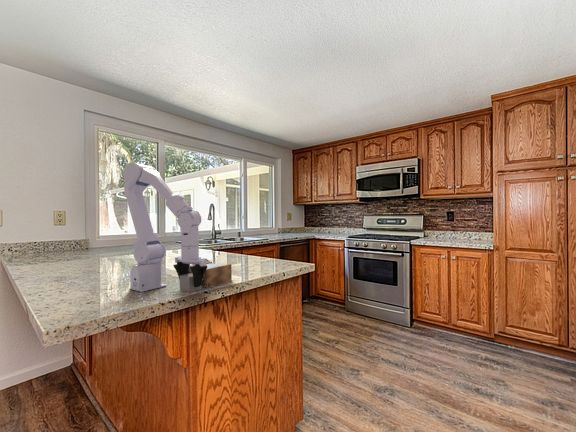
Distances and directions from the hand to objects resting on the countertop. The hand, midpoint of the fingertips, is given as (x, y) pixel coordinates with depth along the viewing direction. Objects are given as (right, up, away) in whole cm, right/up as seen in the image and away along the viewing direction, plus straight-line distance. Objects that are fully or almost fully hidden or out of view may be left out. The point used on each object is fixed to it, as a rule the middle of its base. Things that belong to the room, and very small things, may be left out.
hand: (190, 285), depth 99 cm
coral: (-3, -2, +26) cm, 26 cm away
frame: (+4, -1, +11) cm, 11 cm away
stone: (0, -2, 0) cm, 2 cm away
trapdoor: (+3, +3, +10) cm, 11 cm away
